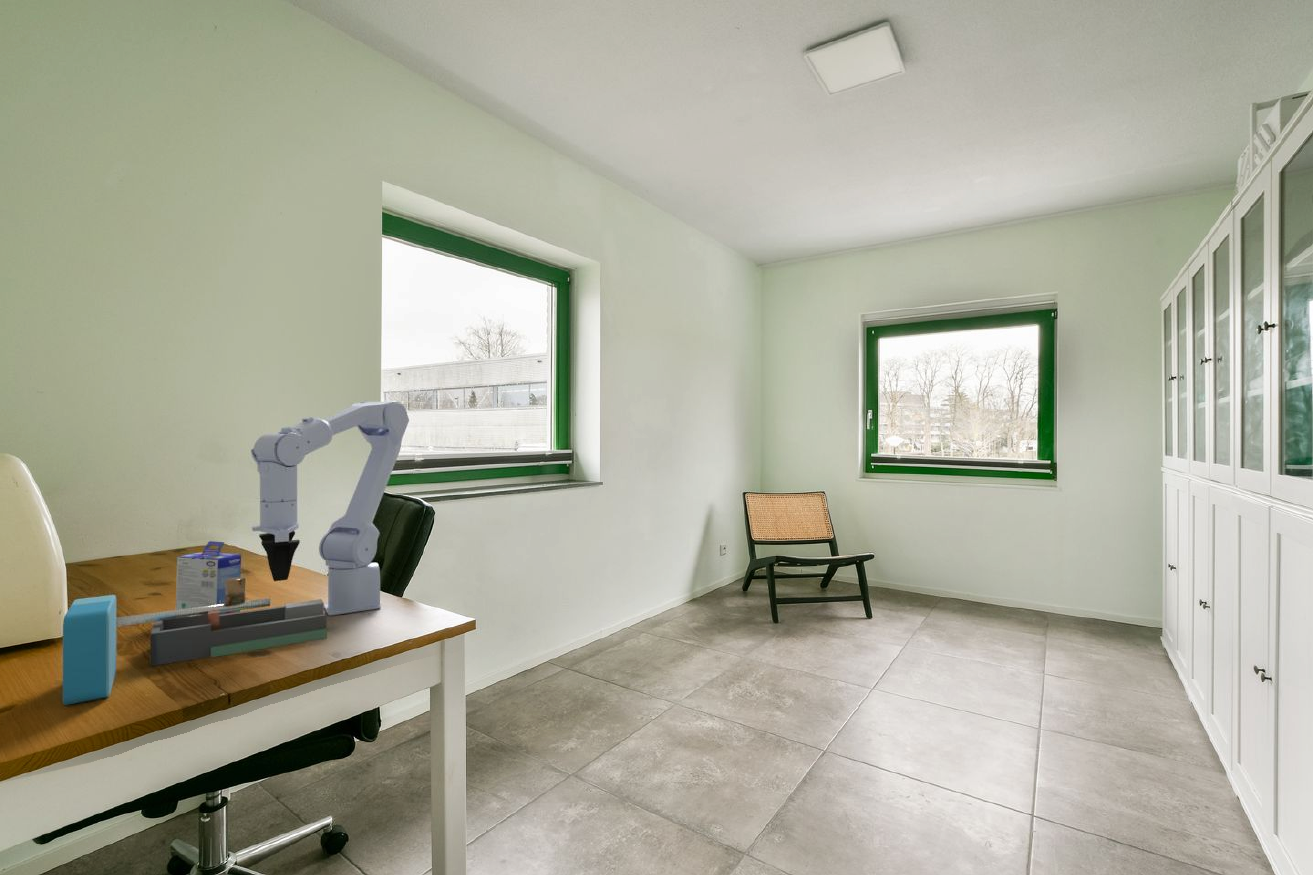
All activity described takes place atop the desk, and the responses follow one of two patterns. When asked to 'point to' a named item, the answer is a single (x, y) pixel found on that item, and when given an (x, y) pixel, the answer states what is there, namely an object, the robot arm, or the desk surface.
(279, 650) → the desk surface
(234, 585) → the kicker
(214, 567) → the ink cartridge box
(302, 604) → the pitch
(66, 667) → the blue flat block
